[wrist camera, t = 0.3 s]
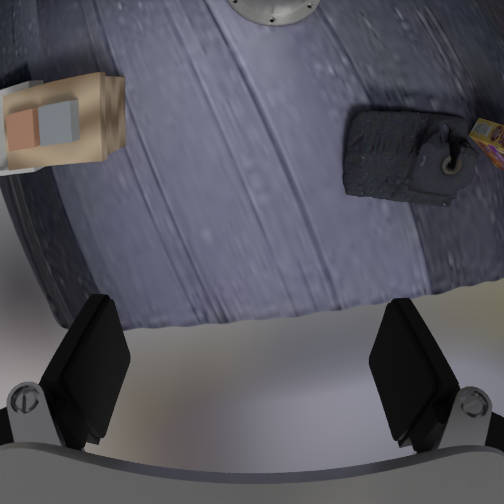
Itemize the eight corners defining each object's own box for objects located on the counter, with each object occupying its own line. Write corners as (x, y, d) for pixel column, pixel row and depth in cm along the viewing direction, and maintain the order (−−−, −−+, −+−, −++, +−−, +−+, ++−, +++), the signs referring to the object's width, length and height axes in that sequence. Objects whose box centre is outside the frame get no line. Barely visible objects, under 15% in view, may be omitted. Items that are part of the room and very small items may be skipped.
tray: (1, 92, 34) (-13, 95, 31) (43, 79, 34) (28, 81, 31) (8, 169, 41) (-6, 176, 37) (48, 164, 41) (34, 171, 37)
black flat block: (347, 93, 38) (357, 93, 33) (470, 120, 38) (487, 125, 34) (337, 197, 45) (345, 208, 41) (454, 207, 45) (469, 218, 41)
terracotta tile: (14, 113, 29) (5, 115, 28) (41, 106, 30) (32, 108, 28) (17, 148, 32) (8, 151, 30) (43, 144, 32) (34, 147, 30)
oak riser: (34, 91, 35) (2, 96, 28) (125, 73, 35) (99, 71, 28) (38, 156, 40) (8, 170, 33) (126, 148, 41) (102, 161, 34)
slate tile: (46, 105, 30) (38, 107, 28) (78, 99, 30) (70, 100, 28) (49, 143, 32) (40, 146, 30) (80, 139, 32) (72, 142, 30)
